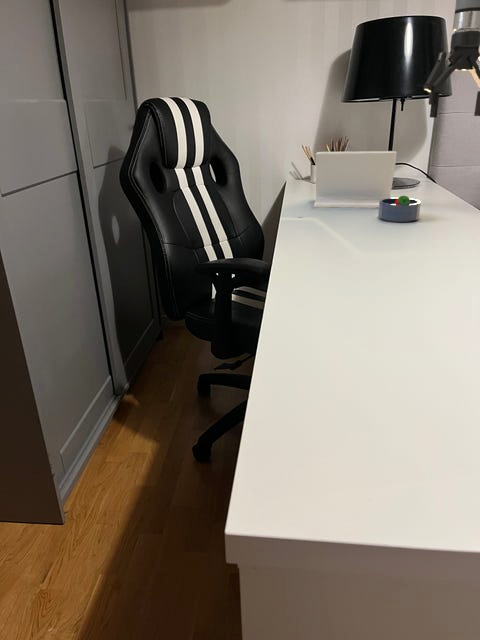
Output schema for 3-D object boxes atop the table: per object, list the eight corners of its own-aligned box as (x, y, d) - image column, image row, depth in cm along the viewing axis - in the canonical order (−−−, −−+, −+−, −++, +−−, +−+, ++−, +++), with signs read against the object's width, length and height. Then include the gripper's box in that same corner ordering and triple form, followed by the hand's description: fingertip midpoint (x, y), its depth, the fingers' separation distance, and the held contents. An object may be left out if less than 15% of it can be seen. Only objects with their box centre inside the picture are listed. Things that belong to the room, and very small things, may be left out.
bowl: (408, 214, 150) (409, 197, 148) (425, 221, 140) (427, 203, 138) (372, 216, 149) (373, 199, 147) (387, 224, 139) (388, 205, 137)
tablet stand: (392, 208, 159) (398, 151, 152) (313, 207, 164) (315, 152, 157) (388, 198, 175) (393, 147, 169) (316, 197, 180) (318, 148, 173)
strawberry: (402, 206, 146) (408, 189, 139) (410, 218, 144) (416, 201, 137) (388, 211, 145) (393, 194, 139) (395, 223, 143) (401, 206, 137)
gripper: (501, 33, 140) (488, 115, 148) (416, 34, 137) (408, 117, 145) (518, 29, 133) (504, 115, 141) (429, 30, 130) (420, 118, 138)
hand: (455, 116), depth 143 cm, fingers open, 13 cm apart
